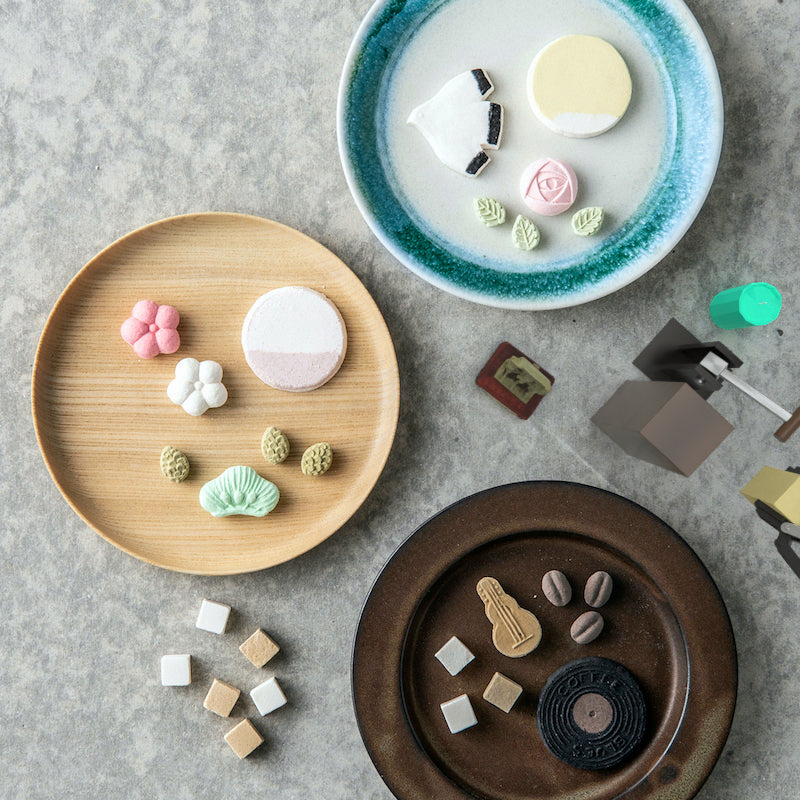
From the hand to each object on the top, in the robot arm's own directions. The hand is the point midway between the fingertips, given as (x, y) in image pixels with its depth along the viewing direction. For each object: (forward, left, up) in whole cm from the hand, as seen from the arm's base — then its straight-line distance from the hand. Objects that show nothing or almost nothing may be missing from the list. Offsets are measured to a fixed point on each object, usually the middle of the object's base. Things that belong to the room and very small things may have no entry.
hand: (772, 487), depth 81 cm
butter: (0, +2, -4) cm, 4 cm away
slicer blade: (-9, -6, -14) cm, 18 cm away
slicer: (-8, -11, -27) cm, 31 cm away
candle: (-19, -14, -27) cm, 36 cm away
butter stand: (+3, -10, -27) cm, 29 cm away
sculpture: (+13, -25, -28) cm, 39 cm away
